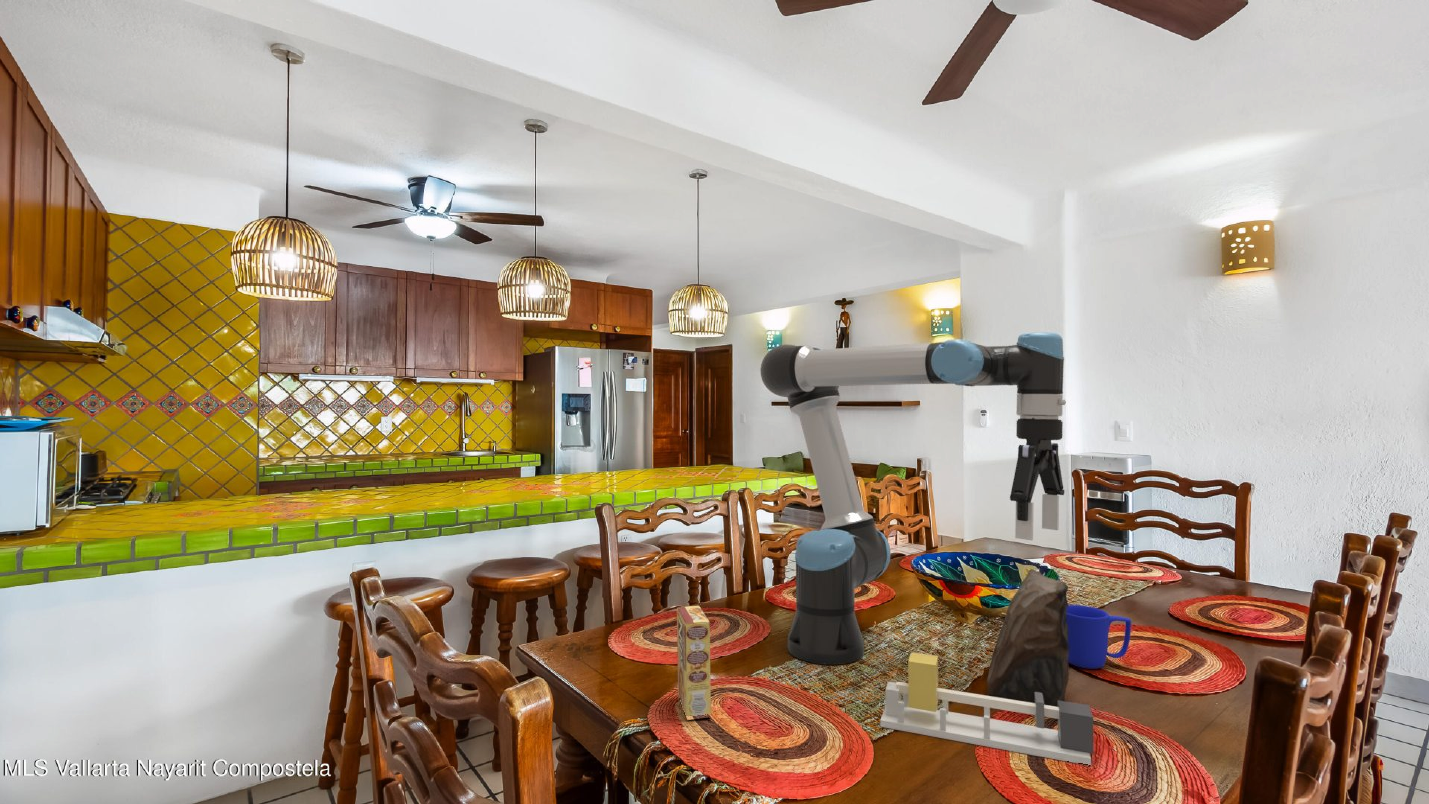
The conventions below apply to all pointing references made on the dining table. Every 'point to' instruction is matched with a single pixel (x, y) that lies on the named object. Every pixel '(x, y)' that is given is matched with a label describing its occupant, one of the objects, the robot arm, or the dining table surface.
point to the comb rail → (997, 723)
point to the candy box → (693, 660)
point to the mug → (1092, 636)
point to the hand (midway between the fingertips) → (1037, 534)
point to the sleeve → (923, 681)
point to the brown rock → (1033, 644)
